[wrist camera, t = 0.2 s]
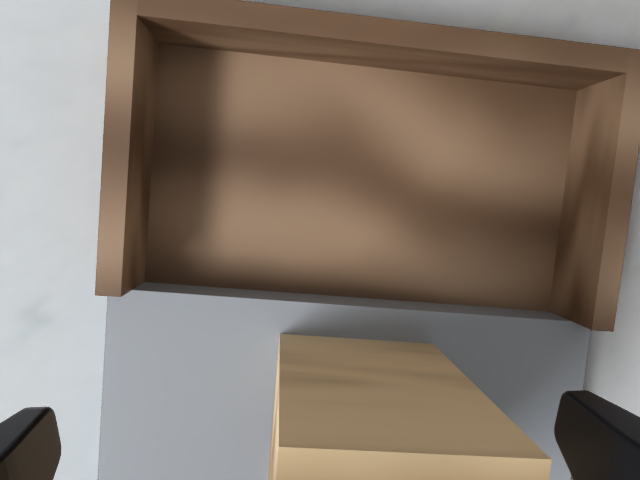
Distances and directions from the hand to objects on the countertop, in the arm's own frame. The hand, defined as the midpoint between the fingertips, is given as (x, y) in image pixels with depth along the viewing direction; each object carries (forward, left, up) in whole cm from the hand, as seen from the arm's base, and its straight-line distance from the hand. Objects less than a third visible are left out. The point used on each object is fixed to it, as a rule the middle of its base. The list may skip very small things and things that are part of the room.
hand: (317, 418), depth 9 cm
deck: (-4, -6, -16) cm, 17 cm away
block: (-3, -6, -13) cm, 15 cm away
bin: (+6, +1, -16) cm, 17 cm away
